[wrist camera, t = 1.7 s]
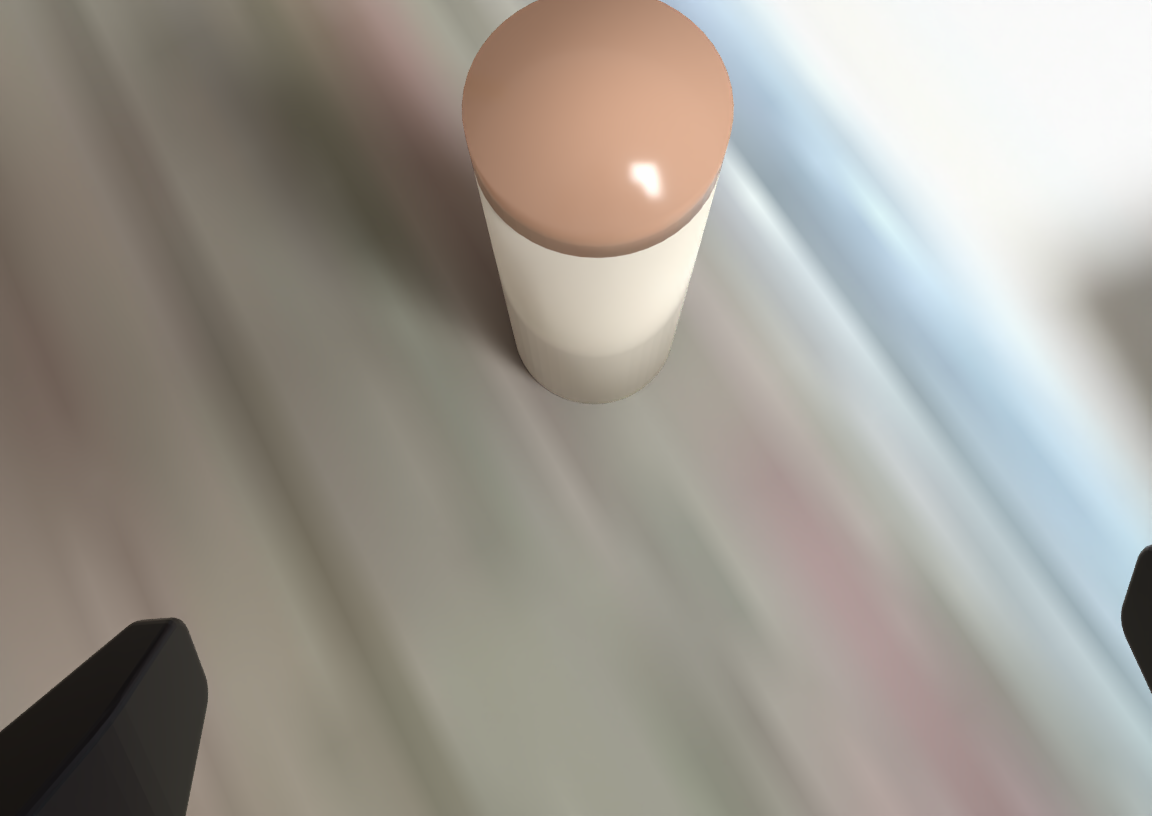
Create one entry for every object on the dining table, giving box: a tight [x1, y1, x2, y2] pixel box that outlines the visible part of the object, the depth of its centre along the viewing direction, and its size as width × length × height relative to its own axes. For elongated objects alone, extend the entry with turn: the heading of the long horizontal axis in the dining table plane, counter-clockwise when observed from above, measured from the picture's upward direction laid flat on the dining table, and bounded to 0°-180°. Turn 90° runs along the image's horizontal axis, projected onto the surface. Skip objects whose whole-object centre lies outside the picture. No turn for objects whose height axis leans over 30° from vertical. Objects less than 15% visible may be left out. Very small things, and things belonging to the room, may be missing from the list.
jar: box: [462, 0, 734, 404], centre depth 19 cm, size 4×4×10 cm
